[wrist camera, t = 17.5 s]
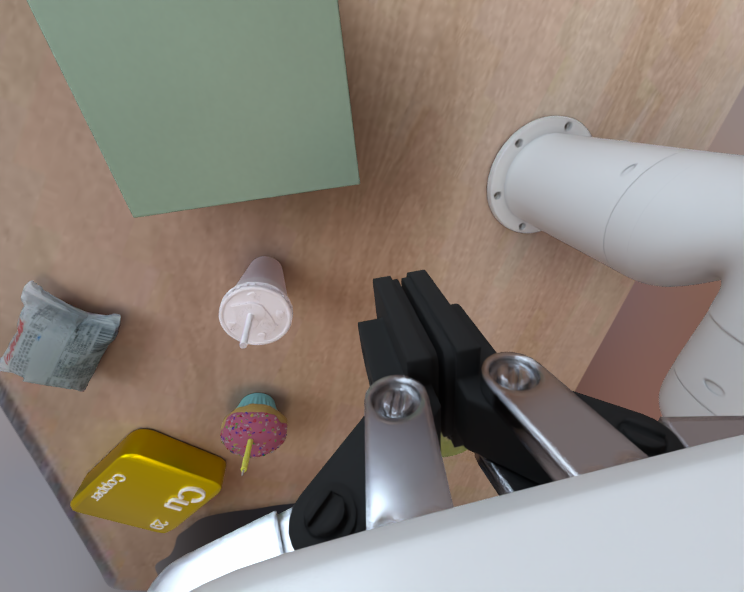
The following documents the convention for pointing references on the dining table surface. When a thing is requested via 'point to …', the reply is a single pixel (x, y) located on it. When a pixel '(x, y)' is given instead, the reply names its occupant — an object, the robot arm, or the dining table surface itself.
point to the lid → (208, 96)
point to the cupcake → (254, 428)
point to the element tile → (150, 482)
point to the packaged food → (57, 341)
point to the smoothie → (257, 305)
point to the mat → (449, 447)
